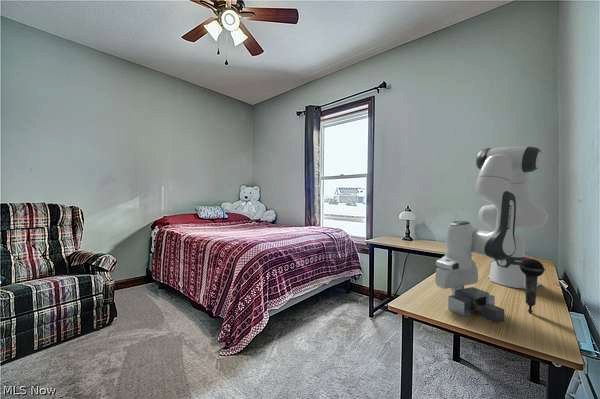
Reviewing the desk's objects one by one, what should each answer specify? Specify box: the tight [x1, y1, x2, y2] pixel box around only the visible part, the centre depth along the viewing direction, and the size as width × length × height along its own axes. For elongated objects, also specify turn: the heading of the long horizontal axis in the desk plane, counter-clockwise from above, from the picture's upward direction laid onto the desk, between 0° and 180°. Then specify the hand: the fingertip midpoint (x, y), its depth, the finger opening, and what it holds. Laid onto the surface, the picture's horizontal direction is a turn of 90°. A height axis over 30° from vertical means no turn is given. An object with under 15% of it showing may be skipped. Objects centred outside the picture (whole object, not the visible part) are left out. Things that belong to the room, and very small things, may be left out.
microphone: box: [519, 258, 546, 314], centre depth 90 cm, size 7×7×20 cm
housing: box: [447, 286, 496, 318], centre depth 92 cm, size 17×6×7 cm, turn 112°
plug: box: [473, 304, 505, 324], centre depth 90 cm, size 4×14×4 cm, turn 21°
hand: (456, 296), depth 97 cm, fingers closed
